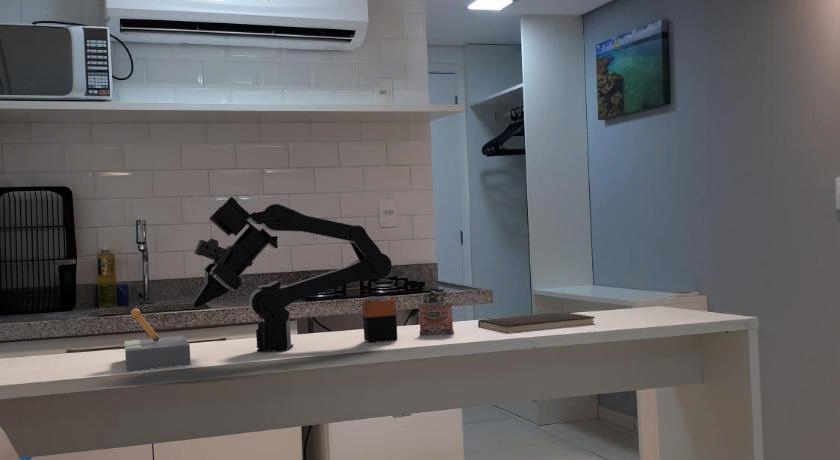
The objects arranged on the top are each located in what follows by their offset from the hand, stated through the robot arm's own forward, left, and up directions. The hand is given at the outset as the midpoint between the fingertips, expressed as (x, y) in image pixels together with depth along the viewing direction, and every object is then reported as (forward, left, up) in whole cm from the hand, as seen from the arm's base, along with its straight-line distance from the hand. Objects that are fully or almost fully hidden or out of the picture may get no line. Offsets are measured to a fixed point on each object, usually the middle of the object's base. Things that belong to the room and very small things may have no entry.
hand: (194, 306), depth 169 cm
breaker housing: (+7, +4, -11) cm, 14 cm away
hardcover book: (-72, -31, -12) cm, 79 cm away
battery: (-37, -15, -11) cm, 41 cm away
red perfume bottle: (-49, -22, -11) cm, 55 cm away
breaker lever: (+7, +4, -6) cm, 10 cm away
